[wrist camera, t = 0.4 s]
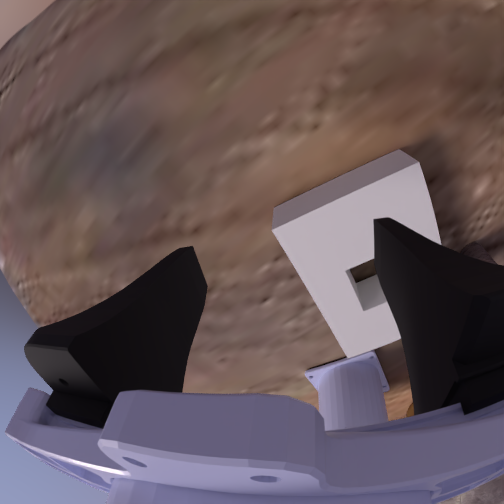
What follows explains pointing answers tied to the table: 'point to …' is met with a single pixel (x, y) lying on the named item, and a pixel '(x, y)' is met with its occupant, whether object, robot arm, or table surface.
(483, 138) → the table surface
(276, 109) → the table surface
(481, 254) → the pin
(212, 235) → the table surface
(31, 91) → the table surface
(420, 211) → the block
